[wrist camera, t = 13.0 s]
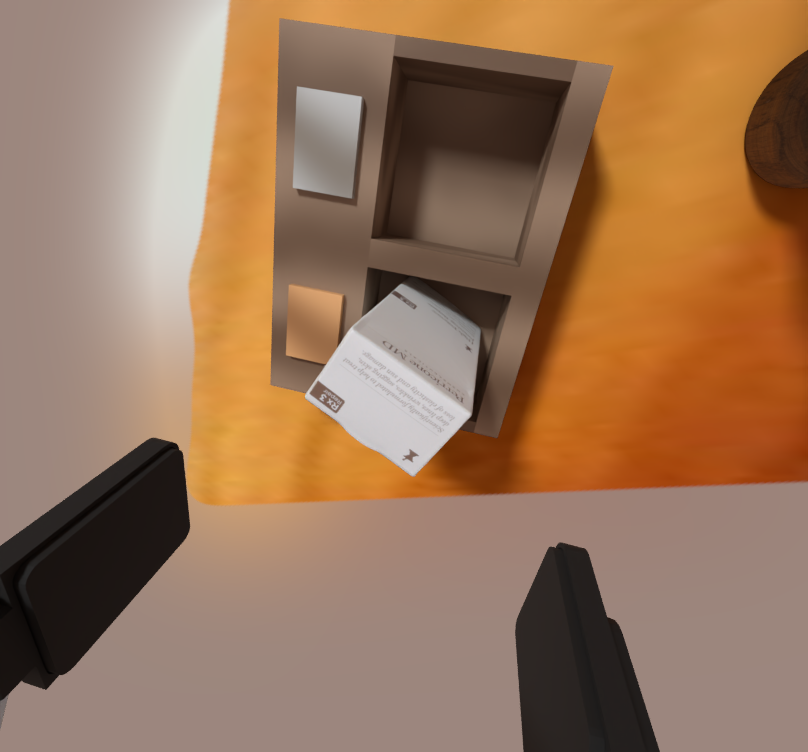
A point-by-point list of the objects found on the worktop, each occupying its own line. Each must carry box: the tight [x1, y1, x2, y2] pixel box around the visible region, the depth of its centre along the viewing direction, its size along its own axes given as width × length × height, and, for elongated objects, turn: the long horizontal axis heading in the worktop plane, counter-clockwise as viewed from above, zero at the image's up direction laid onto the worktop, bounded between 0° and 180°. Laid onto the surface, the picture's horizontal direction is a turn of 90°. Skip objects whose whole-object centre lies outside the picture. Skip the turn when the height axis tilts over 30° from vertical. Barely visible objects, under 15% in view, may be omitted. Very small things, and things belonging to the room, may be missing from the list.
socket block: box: [271, 19, 613, 438], centre depth 24 cm, size 19×15×5 cm
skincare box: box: [305, 276, 481, 477], centre depth 22 cm, size 6×4×12 cm
